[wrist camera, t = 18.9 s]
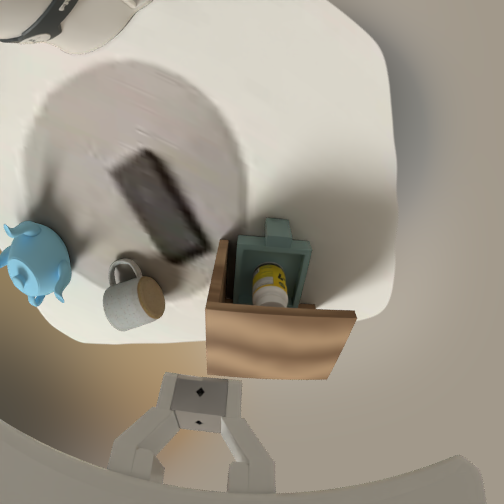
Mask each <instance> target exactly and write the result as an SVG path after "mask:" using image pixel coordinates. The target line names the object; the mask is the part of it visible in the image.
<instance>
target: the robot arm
mask: <svg viewBox="0 0 504 504" xmlns="http://www.w3.org/2000/svg"><path fill="white" fill-rule="evenodd" d="M151 1H152V0H0V41H1V42H5V43H19V44H37V43H42V42H43V43H47V44H51V45H53V46H55V47H58V48H59V49H61V50H62V51H63V52H66V53H68V54H75V55H77V54H85V53H88V52H91V51H94V50H96V49H98V48H100V47H102V46H103V45H105V44H106V43H108V42H109V41H110V40H111V39H113V38H114V37H115V36H116V35H117V34H118V33H119V32H120V31H121V30H122V29H123V28H124V26H125V25H126V24H127V22H128V21H129V20H130V18H131V17H132V16H133V15H134V14H135V13H136V12H137V11H139V10H140V9H142V8H143V7H145V6H146V5H148V4H149V3H150V2H151ZM241 395H242V381H241V380H228V379H218V378H207V377H197V376H189V375H181V374H176V373H169V372H166V373H165V374H164V377H163V381H162V385H161V389H160V393H159V397H158V402H157V406H156V407H152V408H151V409H150V410H148V411H147V412H146V413H145V414H144V415H143V416H142V417H141V418H140V419H138V420H137V421H136V422H135V423H134V424H133V425H131V426H130V427H129V428H128V429H127V430H126V431H124V432H123V433H122V434H121V435H120V436H119V437H117V438H116V439H115V440H114V443H113V447H112V451H111V455H110V459H109V463H108V467H107V469H104V468H101V467H99V466H96V465H93V464H90V463H88V462H85V461H82V460H80V459H77V458H75V457H72V456H70V455H67V454H65V453H63V452H60V451H58V450H56V449H54V448H52V447H49V446H47V445H45V444H43V443H41V442H39V441H37V440H35V439H34V438H32V437H30V436H28V435H26V434H24V433H22V432H21V431H19V430H17V429H15V428H14V427H12V426H10V425H8V424H7V423H5V422H4V421H2V420H1V419H0V504H486V497H485V491H484V485H483V479H482V476H481V473H480V470H479V469H478V468H477V467H476V466H475V465H474V464H473V463H471V462H470V461H469V460H467V459H466V458H465V457H463V456H461V455H456V456H453V457H450V458H448V459H445V460H443V461H440V462H437V463H435V464H432V465H429V466H426V467H423V468H420V469H417V470H414V471H411V472H408V473H404V474H401V475H398V476H394V477H390V478H386V479H383V480H378V481H374V482H369V483H364V484H359V485H354V486H348V487H342V488H335V489H328V490H320V491H310V492H299V493H298V492H297V493H276V489H275V488H276V487H275V462H274V460H273V459H272V458H271V456H270V455H269V453H268V452H267V451H266V449H265V448H264V447H263V445H262V443H261V442H260V441H259V439H258V438H257V437H256V435H255V434H254V432H253V430H252V429H251V428H250V426H249V424H248V423H247V421H246V420H245V419H244V418H241ZM179 428H182V429H189V430H198V431H206V432H213V433H221V435H222V437H223V439H224V440H225V442H226V444H227V446H228V447H229V449H230V451H231V453H232V454H233V456H234V458H235V460H236V461H237V462H232V463H231V464H230V465H229V473H228V484H227V492H217V491H216V492H215V491H207V490H198V489H191V488H184V487H178V486H172V485H167V484H163V477H164V470H165V468H164V467H163V466H162V464H161V463H160V461H159V460H158V459H157V458H156V455H157V454H158V453H159V452H160V451H161V450H162V449H163V447H164V446H165V445H166V444H167V443H168V442H169V441H170V440H171V439H172V438H173V437H174V435H175V434H176V433H177V432H178V431H179V430H180V429H179Z"/></svg>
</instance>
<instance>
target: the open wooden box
mask: <svg viewBox="0 0 504 504" xmlns="http://www.w3.org/2000/svg"><path fill="white" fill-rule="evenodd" d="M228 241H229V240H220V242H219V247H218V251H217V256H216V260H215V265H214V270H213V274H212V279H211V284H210V289H209V294H208V298H207V303H206V308H205V318H206V350H207V351H206V353H207V374H208V375H219V376H229V377H242V378H260V379H288V380H320V379H321V380H322V379H327V378H328V376H329V375H330V373H331V371H332V369H333V367H334V365H335V363H336V361H337V359H338V357H339V355H340V353H341V351H342V349H343V347H344V345H345V343H346V341H347V339H348V337H349V335H350V332H351V330H352V328H353V326H354V324H355V322H356V319H357V317H356V314H355V311H351V310H323V309H316V308H315V305H313V304H299V305H298V308H284V307H269V306H255V305H242V304H233V299H227V298H225V297H226V277H227V258H228Z"/></svg>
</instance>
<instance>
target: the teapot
mask: <svg viewBox="0 0 504 504" xmlns="http://www.w3.org/2000/svg"><path fill="white" fill-rule="evenodd" d="M4 229H5V231H6V233H7V235H8V236H9V237H12V238H14V240H13V242H12V244H11V246H9V247H7V248H6V249H5V250H4V251H3V252H2V253H1V255H0V268H2V267H3V266H5V265H8V272H9V275H10V277H11V279H12V281H13V283H14V285H15V286H16V287H17V288H18V289H19V290H20V291H22V292H23V293H25V294H26V295H28V300H29V302H30V303H31V304H32V305H33V306H39V305H40V304H41V303H42V301H43V299H44V297H45V295H48V294H50V293H52V292H54V294H55V296H56V297H57V299H58V300H60V301H61V302H62V303H64V299H63V297H62V292H63V290H64V289H65V287H66V286H67V285H68V284H69V282H70V280H71V267H70V259H69V254H68V251H67V248H66V246H65V244H64V242H63V241H62V239H61V238H60V237H59V235H58V234H57V233H56V232H54V231H53V230H52V229H50V228H49V227H47V226H44V225H41V224H37V223H34V222H32V221H24V222H22V223H20V224H19V225H18V226H16V227H15V228H9V227H8V226H7V225H5V224H4ZM35 296H37V297H36V299H35Z"/></svg>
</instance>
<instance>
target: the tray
mask: <svg viewBox="0 0 504 504" xmlns="http://www.w3.org/2000/svg"><path fill="white" fill-rule="evenodd" d="M311 253H312V249H311V245H310V242H309V241H300V240H292V234H291V230H290V225H289V221H288V220H286V219H276V218H266V222H265V237H256V236H245V235H238V241H237V253H236V266H235V280H234V294H233V304H242V305H253V301H252V291H253V272H254V269H255V268H256V267H257V266H258V265H259V264H261V263H264V262H275V263H277V264H279V265H280V266H281V267H282V268H283V270H284V272H285V278H286V285H287V293H288V304H287V308H298V305H299V301H300V297H301V293H302V290H303V286H304V282H305V278H306V274H307V269H308V265H309V261H310V257H311Z"/></svg>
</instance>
